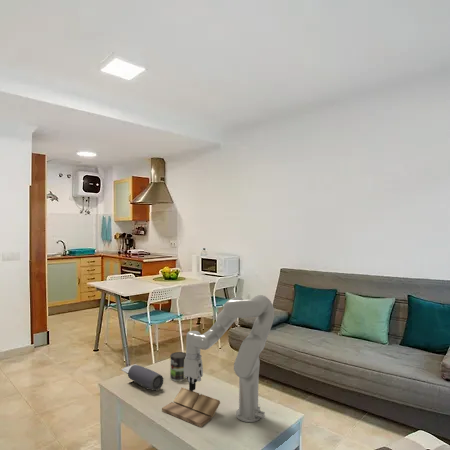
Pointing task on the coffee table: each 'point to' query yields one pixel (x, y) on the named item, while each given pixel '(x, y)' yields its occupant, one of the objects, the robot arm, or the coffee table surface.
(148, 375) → the bluetooth speaker
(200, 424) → the floor plank
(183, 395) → the plank far
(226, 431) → the coffee table surface
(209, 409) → the plank near
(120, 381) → the coffee table surface
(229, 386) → the coffee table surface
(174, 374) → the coffee can
